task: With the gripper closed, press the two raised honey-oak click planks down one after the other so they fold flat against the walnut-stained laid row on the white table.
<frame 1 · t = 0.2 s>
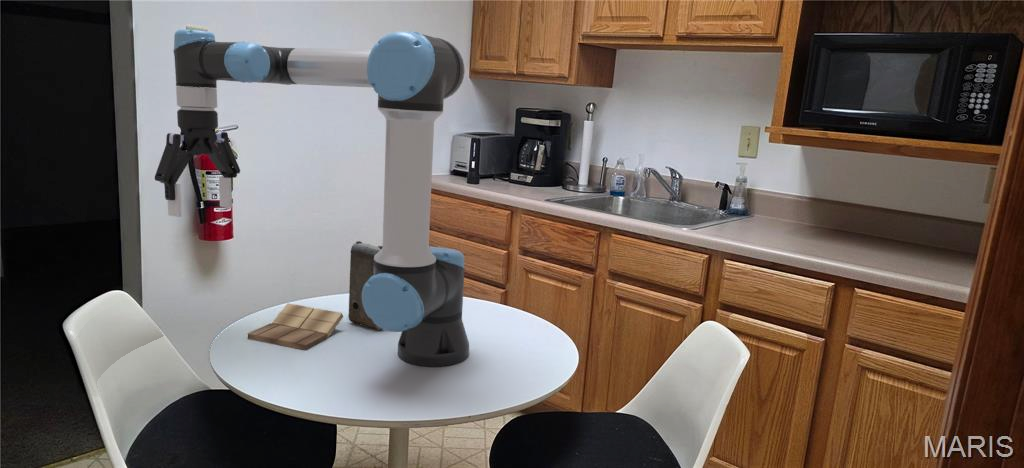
hand: (201, 211, 141), 27 cm above the table, fingers open, 13 cm apart
oak plank a: (321, 322, 152), point 2 cm above the table, hinge at 28.0°
walnut row: (287, 338, 147), on the table
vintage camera: (384, 320, 163), on the table
oak plank b: (293, 317, 154), point 2 cm above the table, hinge at 28.0°
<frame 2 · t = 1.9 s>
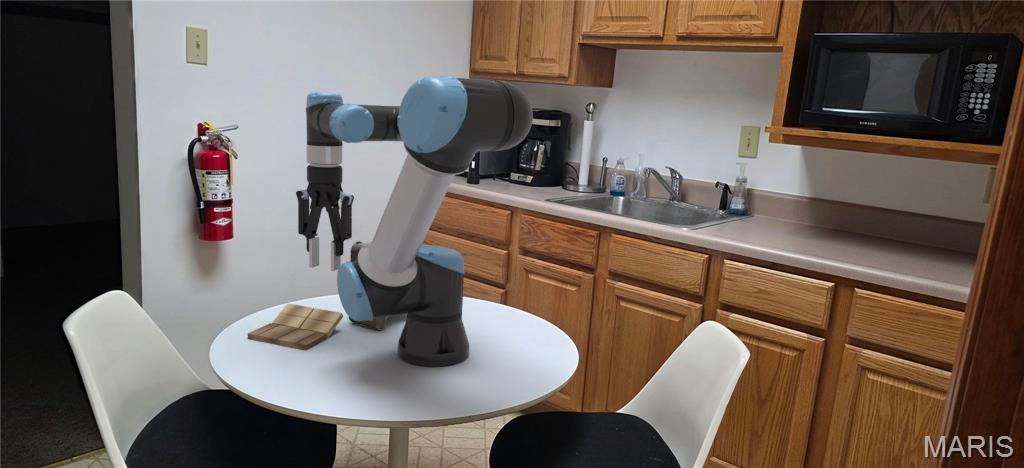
hand: (324, 267, 151), 15 cm above the table, fingers open, 5 cm apart
nothing on the table moved.
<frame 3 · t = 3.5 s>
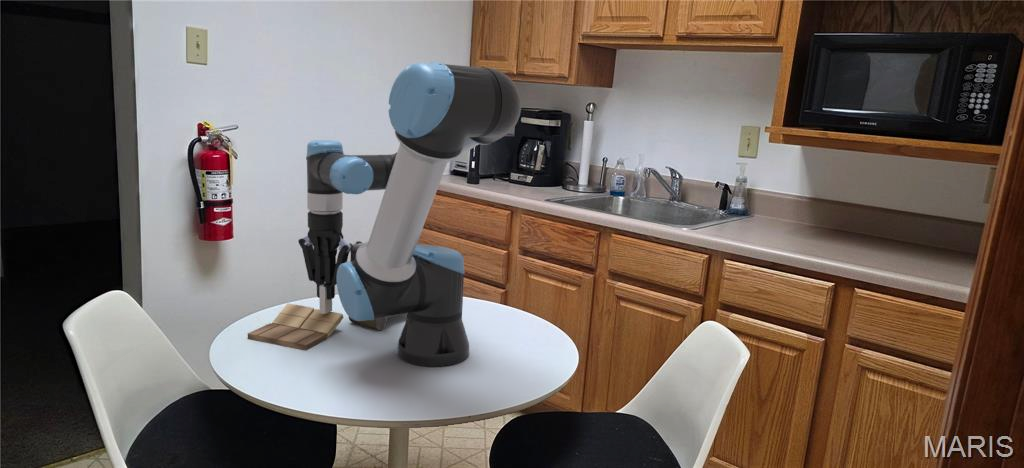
hand: (325, 311, 153), 4 cm above the table, fingers closed
oak plank a: (322, 322, 152), point 2 cm above the table, hinge at 25.4°, touching gripper
everything else where it was.
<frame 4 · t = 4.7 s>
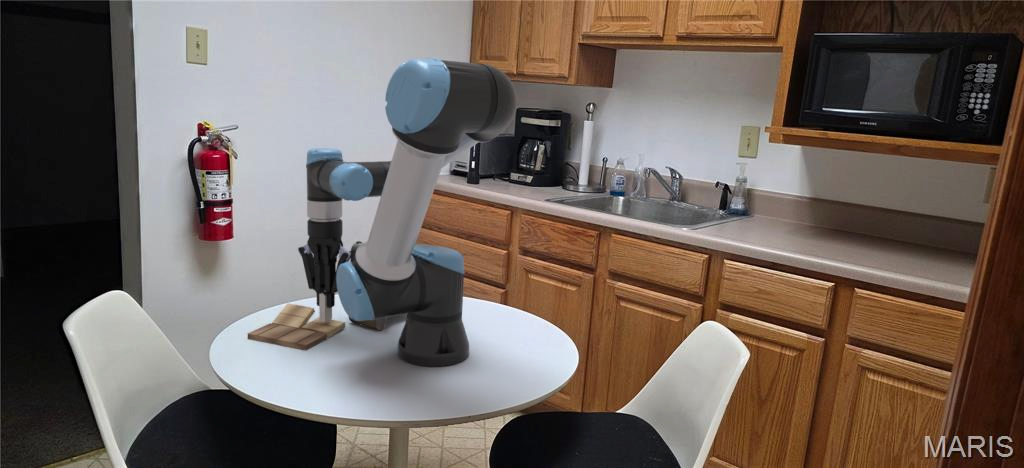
hand: (325, 320, 153), 2 cm above the table, fingers closed
oak plank a: (323, 326, 153), point 1 cm above the table, hinge at 3.4°
everything else where it was.
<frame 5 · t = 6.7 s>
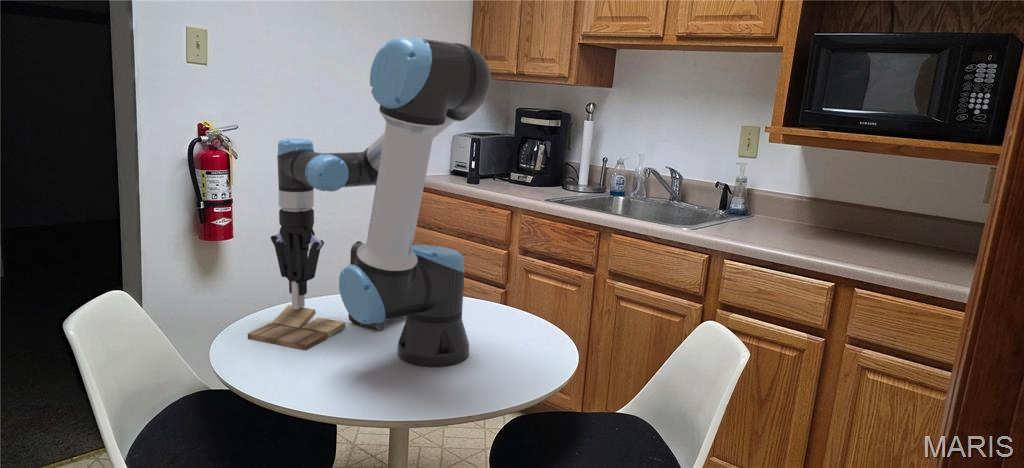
hand: (298, 307, 156), 4 cm above the table, fingers closed
oak plank b: (294, 317, 155), point 2 cm above the table, hinge at 23.1°, touching gripper
everything else where it was.
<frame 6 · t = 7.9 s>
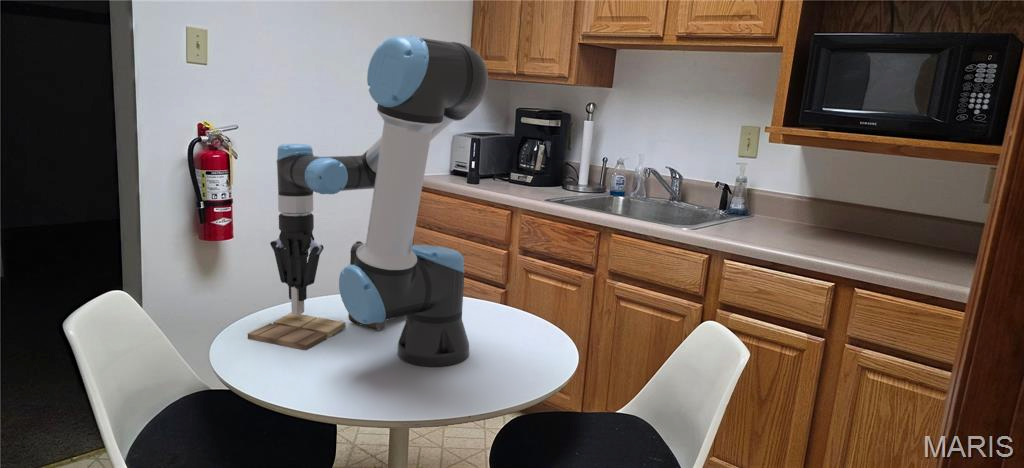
hand: (298, 313, 155), 3 cm above the table, fingers closed
oak plank b: (295, 321, 155), point 1 cm above the table, hinge at 3.1°
everything else where it was.
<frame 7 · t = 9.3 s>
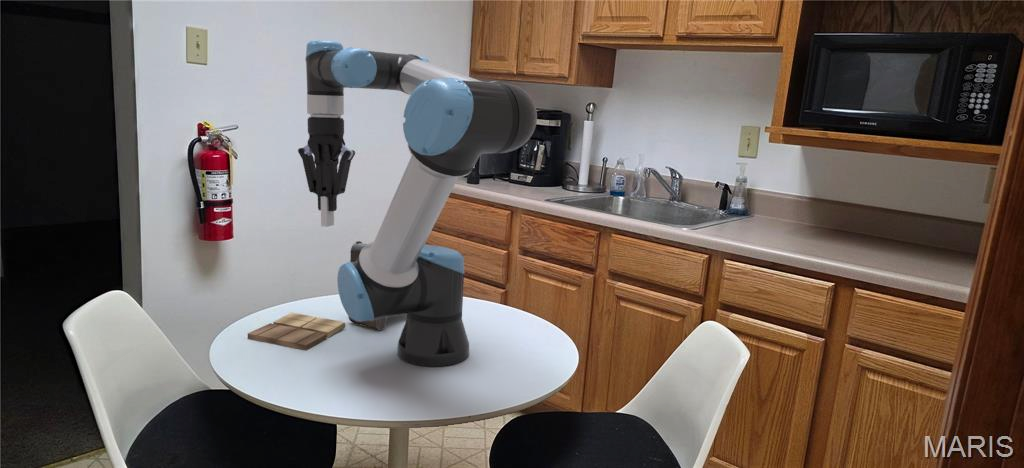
hand: (327, 225, 147), 25 cm above the table, fingers closed
nothing on the table moved.
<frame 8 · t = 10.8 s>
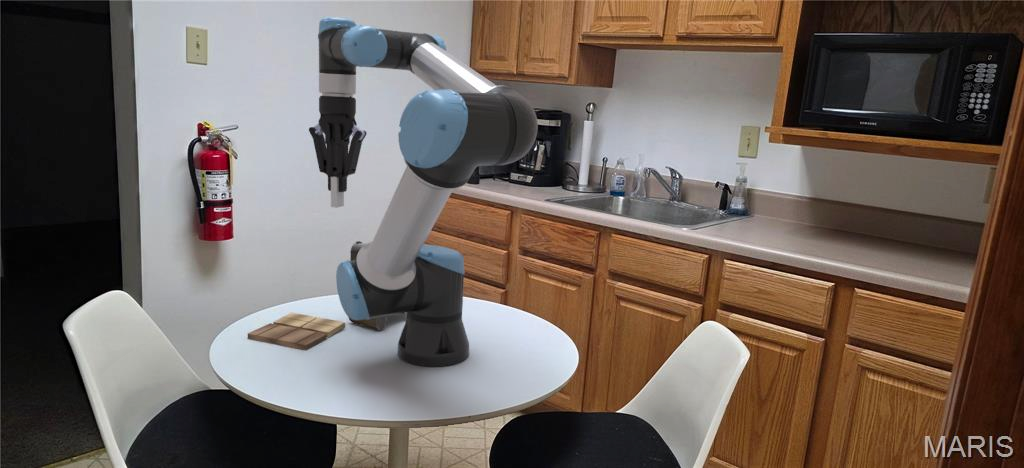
hand: (337, 206, 145), 29 cm above the table, fingers closed
nothing on the table moved.
at the end: oak plank a at +3° (first picture: +28°); oak plank b at +3° (first picture: +28°) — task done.
